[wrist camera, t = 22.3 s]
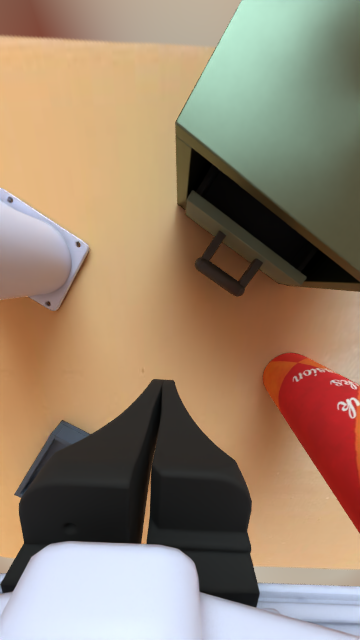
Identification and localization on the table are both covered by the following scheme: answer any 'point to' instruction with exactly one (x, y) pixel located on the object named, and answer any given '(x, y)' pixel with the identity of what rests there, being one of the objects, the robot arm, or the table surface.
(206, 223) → the drawer
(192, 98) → the cabinet
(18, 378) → the table surface
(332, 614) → the robot arm
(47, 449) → the tray
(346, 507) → the coffee cup
